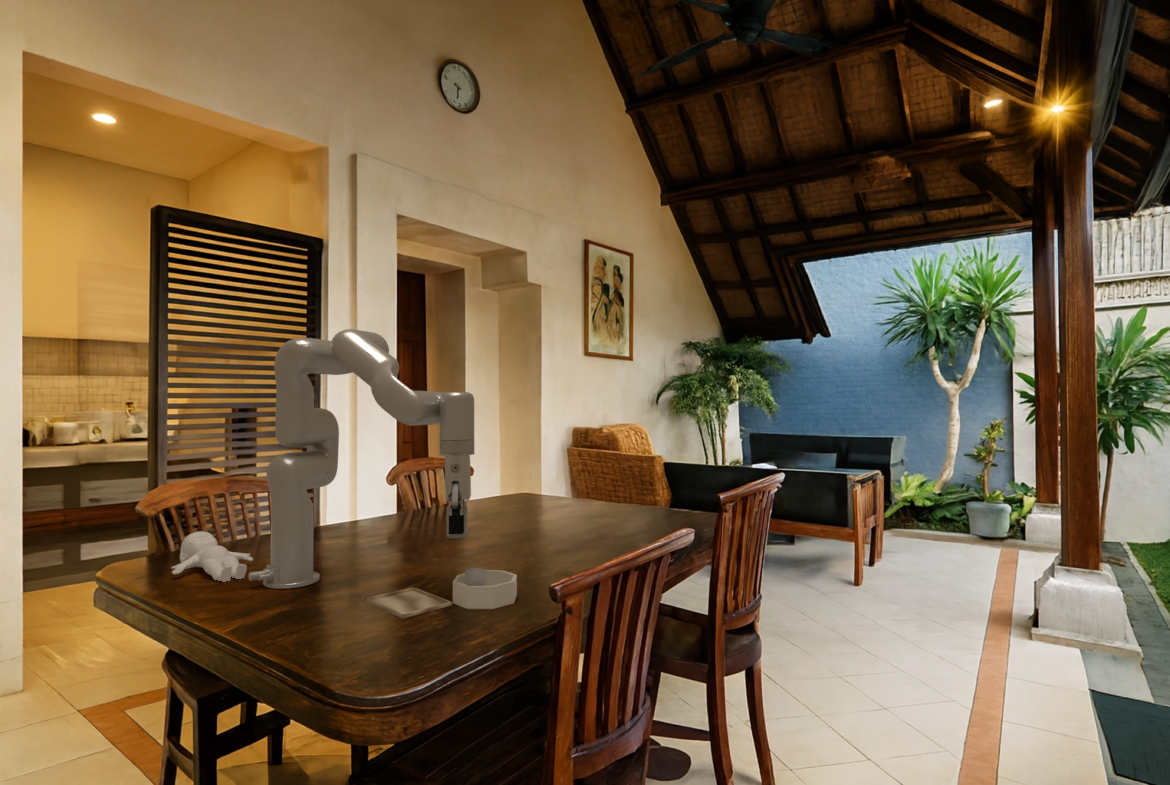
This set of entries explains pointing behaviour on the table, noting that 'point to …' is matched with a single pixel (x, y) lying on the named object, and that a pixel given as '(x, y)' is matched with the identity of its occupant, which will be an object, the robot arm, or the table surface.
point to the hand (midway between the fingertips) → (457, 530)
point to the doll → (211, 557)
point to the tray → (408, 602)
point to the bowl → (486, 591)
